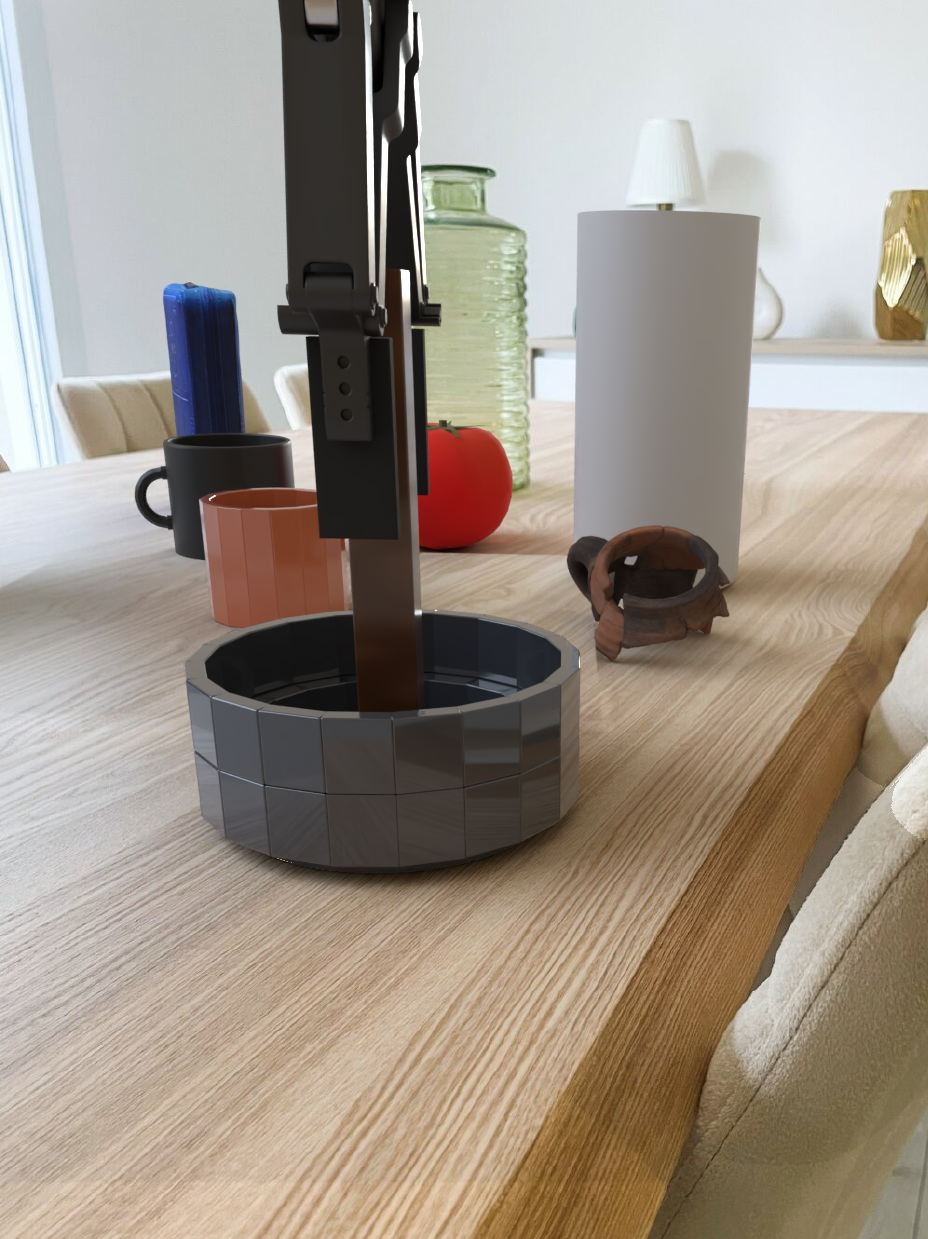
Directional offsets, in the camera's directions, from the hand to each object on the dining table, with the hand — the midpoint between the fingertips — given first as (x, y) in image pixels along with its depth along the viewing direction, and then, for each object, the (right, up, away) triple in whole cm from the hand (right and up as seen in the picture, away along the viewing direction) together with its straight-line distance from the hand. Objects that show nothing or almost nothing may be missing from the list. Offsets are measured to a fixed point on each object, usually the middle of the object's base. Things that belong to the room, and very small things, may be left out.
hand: (380, 513), depth 47 cm
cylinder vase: (+12, +6, +46) cm, 48 cm away
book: (-28, +17, +68) cm, 76 cm away
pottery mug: (+11, -1, +29) cm, 31 cm away
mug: (-22, +8, +49) cm, 54 cm away
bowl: (0, -11, +5) cm, 12 cm away
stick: (0, -10, +4) cm, 11 cm away
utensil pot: (-12, 0, +31) cm, 33 cm away
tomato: (-5, +11, +56) cm, 57 cm away
